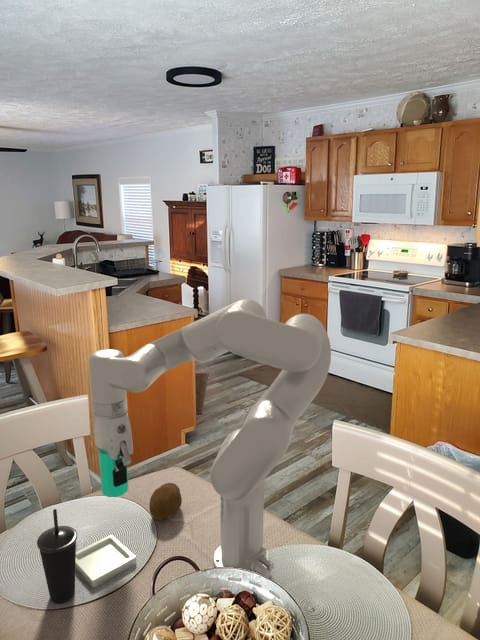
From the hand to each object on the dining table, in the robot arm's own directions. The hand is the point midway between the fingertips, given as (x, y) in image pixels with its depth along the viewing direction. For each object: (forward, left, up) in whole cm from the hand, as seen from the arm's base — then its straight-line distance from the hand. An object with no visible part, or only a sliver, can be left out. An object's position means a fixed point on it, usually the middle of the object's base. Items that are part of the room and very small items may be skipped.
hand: (114, 478), depth 117 cm
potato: (+2, -15, -17) cm, 23 cm away
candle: (0, 0, -3) cm, 3 cm away
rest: (-3, +6, -17) cm, 19 cm away
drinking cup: (-6, +17, -17) cm, 25 cm away
